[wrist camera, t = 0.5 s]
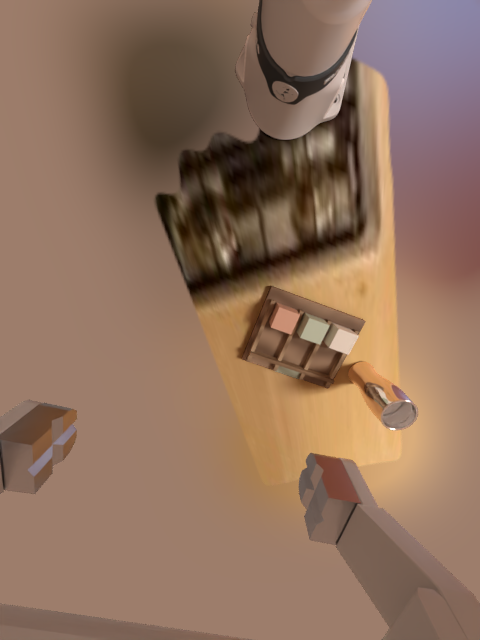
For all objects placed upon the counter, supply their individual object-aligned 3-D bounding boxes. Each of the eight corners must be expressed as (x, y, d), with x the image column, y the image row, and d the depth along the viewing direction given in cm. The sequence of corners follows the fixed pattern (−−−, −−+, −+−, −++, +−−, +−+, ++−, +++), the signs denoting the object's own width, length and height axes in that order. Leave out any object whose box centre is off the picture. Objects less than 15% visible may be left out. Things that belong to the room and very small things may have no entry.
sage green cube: (304, 312, 52) (309, 318, 48) (323, 319, 52) (329, 325, 48) (296, 330, 53) (300, 337, 49) (314, 337, 53) (320, 344, 50)
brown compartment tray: (271, 285, 51) (272, 288, 48) (363, 319, 53) (370, 324, 50) (242, 357, 57) (242, 363, 53) (326, 385, 58) (331, 393, 55)
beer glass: (345, 386, 58) (378, 432, 44) (346, 360, 56) (381, 400, 42) (374, 384, 58) (416, 430, 44) (376, 358, 56) (422, 398, 42)
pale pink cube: (332, 322, 52) (338, 328, 48) (350, 329, 53) (358, 336, 49) (322, 340, 53) (328, 347, 50) (341, 346, 54) (348, 354, 50)
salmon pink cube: (276, 302, 51) (279, 307, 47) (296, 309, 51) (300, 314, 48) (268, 321, 52) (270, 327, 49) (287, 328, 53) (291, 334, 49)
